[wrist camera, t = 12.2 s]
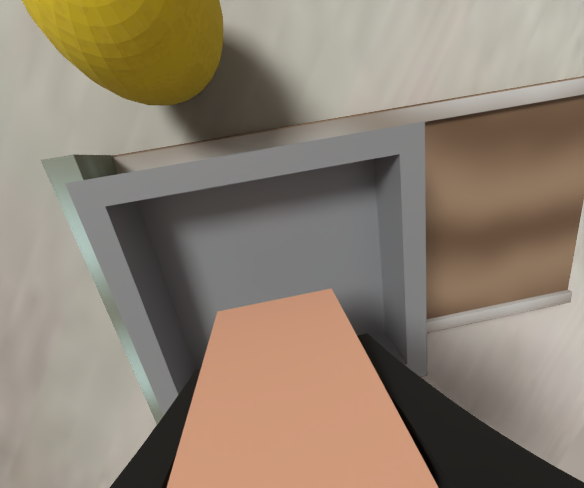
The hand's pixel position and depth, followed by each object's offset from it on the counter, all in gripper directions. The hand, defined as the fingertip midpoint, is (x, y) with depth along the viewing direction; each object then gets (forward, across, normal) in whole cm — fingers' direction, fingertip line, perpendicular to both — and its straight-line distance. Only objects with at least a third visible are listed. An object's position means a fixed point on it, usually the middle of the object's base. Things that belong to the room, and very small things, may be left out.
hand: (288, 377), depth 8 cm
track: (+9, -6, -1) cm, 11 cm away
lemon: (+9, +3, -12) cm, 15 cm away
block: (+2, 0, 0) cm, 2 cm away
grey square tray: (+8, 0, -1) cm, 8 cm away
